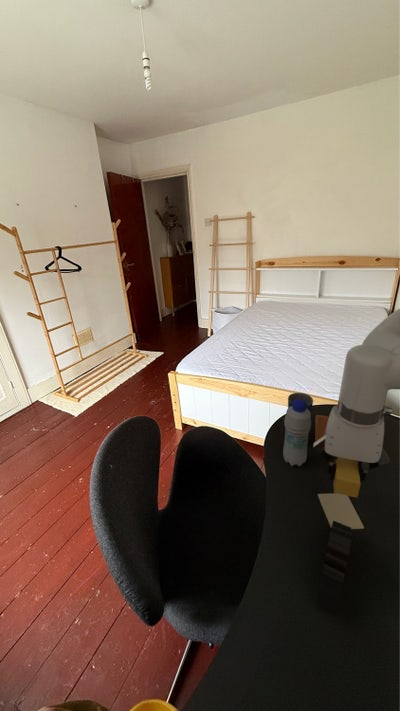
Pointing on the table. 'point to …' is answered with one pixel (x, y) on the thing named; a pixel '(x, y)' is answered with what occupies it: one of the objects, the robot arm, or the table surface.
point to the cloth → (340, 510)
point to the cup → (303, 397)
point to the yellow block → (347, 477)
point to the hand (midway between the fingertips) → (344, 477)
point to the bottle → (296, 433)
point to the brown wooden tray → (320, 426)
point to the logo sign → (334, 569)
